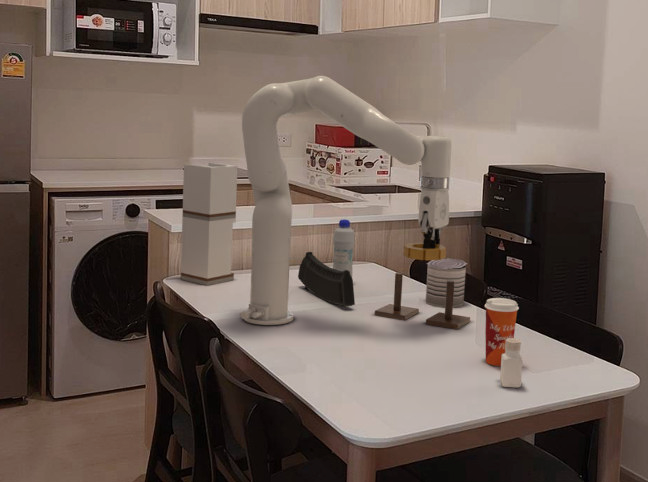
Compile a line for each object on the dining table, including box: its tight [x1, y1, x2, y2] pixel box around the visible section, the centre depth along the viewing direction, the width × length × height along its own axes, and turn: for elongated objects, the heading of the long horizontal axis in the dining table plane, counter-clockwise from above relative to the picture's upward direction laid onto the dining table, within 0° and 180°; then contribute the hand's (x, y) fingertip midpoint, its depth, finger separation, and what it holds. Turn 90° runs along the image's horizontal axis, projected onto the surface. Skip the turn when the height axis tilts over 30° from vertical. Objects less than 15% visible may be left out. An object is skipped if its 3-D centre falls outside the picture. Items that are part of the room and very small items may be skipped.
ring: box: [402, 242, 447, 261], centre depth 211 cm, size 10×10×3 cm
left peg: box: [374, 272, 420, 321], centre depth 222 cm, size 9×9×11 cm
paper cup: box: [484, 297, 520, 367], centre depth 186 cm, size 8×8×14 cm
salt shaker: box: [499, 337, 524, 388], centre depth 171 cm, size 4×4×10 cm
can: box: [425, 257, 468, 308], centre depth 238 cm, size 11×11×12 cm
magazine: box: [297, 251, 356, 307], centre depth 235 cm, size 17×3×30 cm
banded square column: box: [180, 162, 238, 286], centre depth 249 cm, size 11×11×35 cm
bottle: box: [332, 218, 356, 278], centre depth 255 cm, size 7×7×20 cm
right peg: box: [425, 280, 471, 330], centre depth 216 cm, size 9×9×11 cm
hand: (431, 253), depth 215 cm, fingers closed on ring, 2 cm apart
